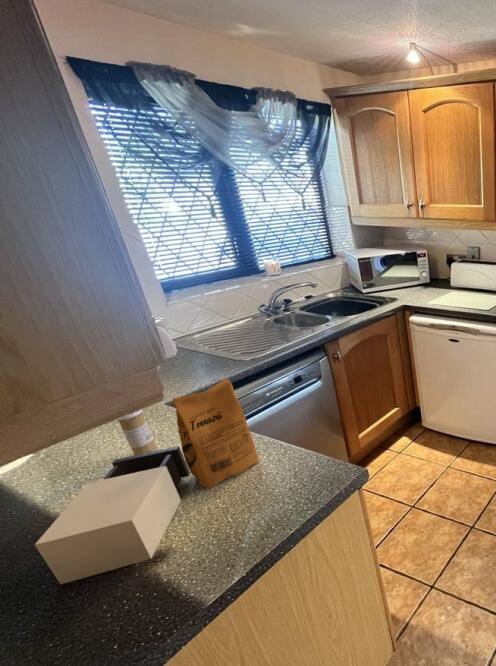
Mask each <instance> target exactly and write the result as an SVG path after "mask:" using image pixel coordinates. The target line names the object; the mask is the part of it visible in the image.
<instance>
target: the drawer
mask: <svg viewBox="0 0 496 666" xmlns="http://www.w3.org/2000/svg"><path fill="white" fill-rule="evenodd" d="M111 464H112V466H113V467H111V469H110V470H109V471H108V472H107V474H106V475H105V476H104V478H103V479H102V480H104V479H109V478H113V477H118V476H122V475H127V474H132V473H136V472H141V471H145V470H150V469H154V468H159V467H163V466H166V467H167V469H168V472H169V474H170V476H171V479H172V481H173V483H174V485H175V488H176V490H177V491H178V489H179V486H180V484H181V483H182V481H183V480H182V479H183V478H187V477H189V476H190V474H191V472H190V470H189V468H188V465H187V463H186V461H185V457H184V454H183V451H182V449H181V447H180V445H178V446H173V447H168V448H163V449H159V450H158V449H157V450H156V451H153V452H149V453H144V454H139V455H134V454H133V455H129V456H126V457H125V456H124V457H120V458H115V459H114V460H113V461H112V462H111Z"/></svg>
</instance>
